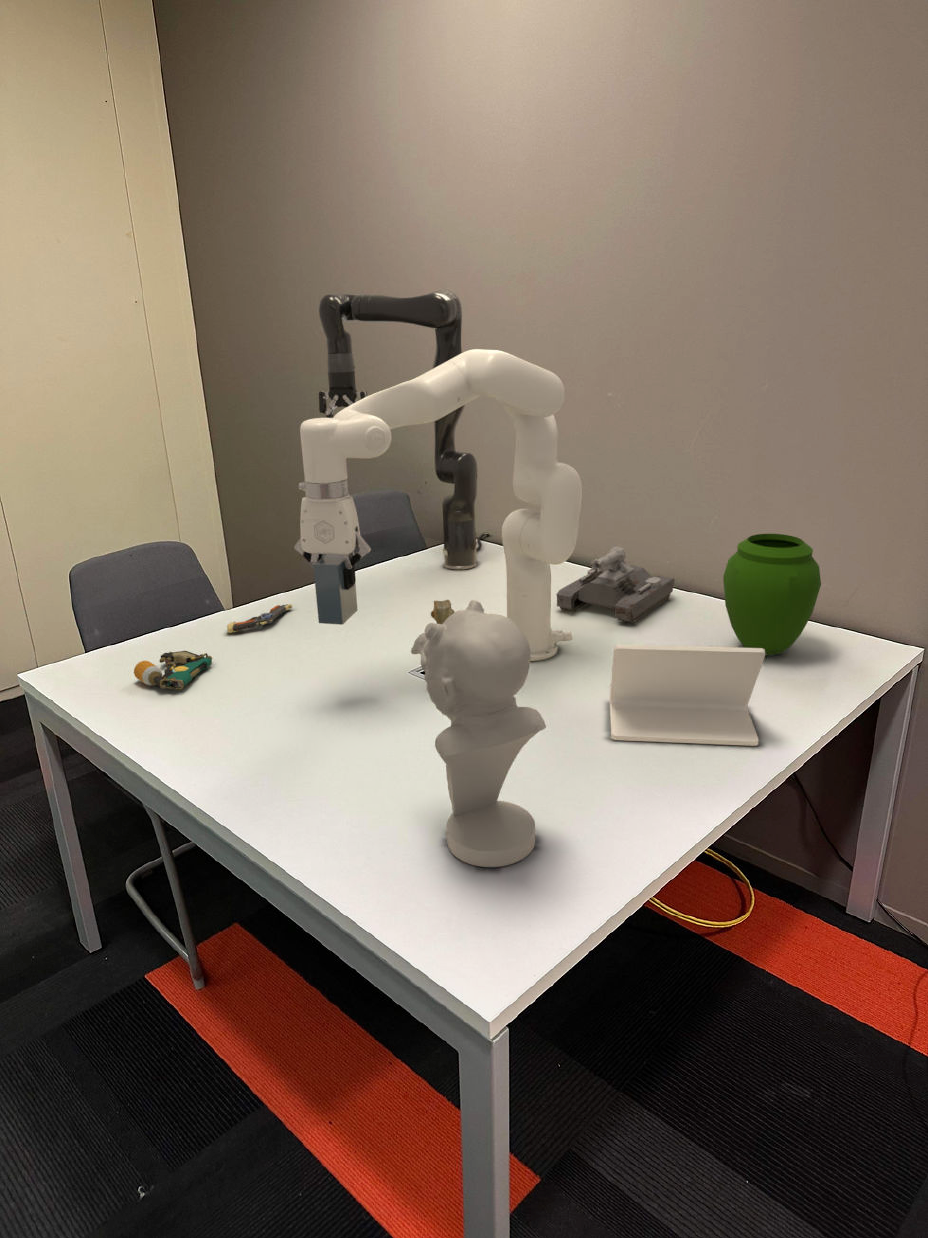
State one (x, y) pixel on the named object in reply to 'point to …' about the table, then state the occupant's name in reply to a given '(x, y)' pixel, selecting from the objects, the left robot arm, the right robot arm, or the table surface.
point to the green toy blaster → (172, 669)
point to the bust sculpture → (481, 729)
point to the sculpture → (441, 611)
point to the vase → (771, 590)
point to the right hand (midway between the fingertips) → (335, 585)
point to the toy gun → (258, 619)
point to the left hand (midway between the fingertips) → (345, 428)
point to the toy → (616, 588)
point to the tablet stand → (683, 694)
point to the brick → (333, 591)
